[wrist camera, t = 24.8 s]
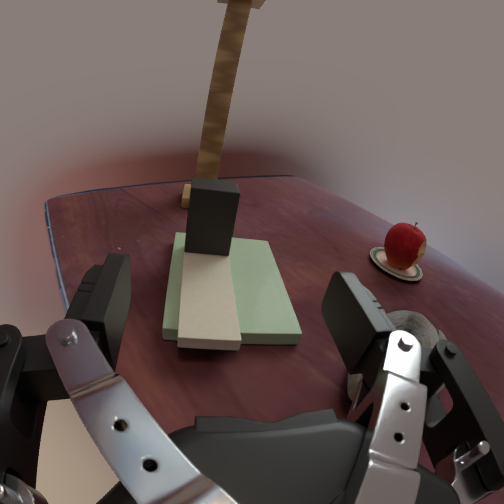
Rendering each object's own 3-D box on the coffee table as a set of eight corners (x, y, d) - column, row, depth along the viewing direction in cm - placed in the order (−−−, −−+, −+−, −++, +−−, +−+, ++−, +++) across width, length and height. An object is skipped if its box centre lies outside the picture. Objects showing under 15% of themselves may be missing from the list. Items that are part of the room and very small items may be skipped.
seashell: (398, 456, 14) (445, 416, 11) (308, 384, 18) (335, 334, 16) (448, 365, 21) (477, 325, 19) (382, 319, 26) (404, 276, 24)
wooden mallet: (177, 347, 18) (182, 253, 14) (185, 245, 29) (192, 176, 25) (239, 350, 19) (261, 260, 15) (225, 249, 30) (236, 181, 26)
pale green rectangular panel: (162, 339, 20) (162, 327, 19) (175, 241, 31) (175, 232, 31) (298, 344, 22) (302, 333, 21) (265, 250, 34) (267, 240, 33)
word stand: (181, 207, 39) (221, -20, 24) (183, 192, 45) (219, -6, 29) (224, 212, 41) (269, -11, 25) (222, 197, 46) (261, 1, 31)
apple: (413, 260, 40) (430, 221, 36) (426, 290, 33) (448, 245, 30) (366, 245, 41) (381, 203, 38) (371, 273, 34) (391, 224, 31)
